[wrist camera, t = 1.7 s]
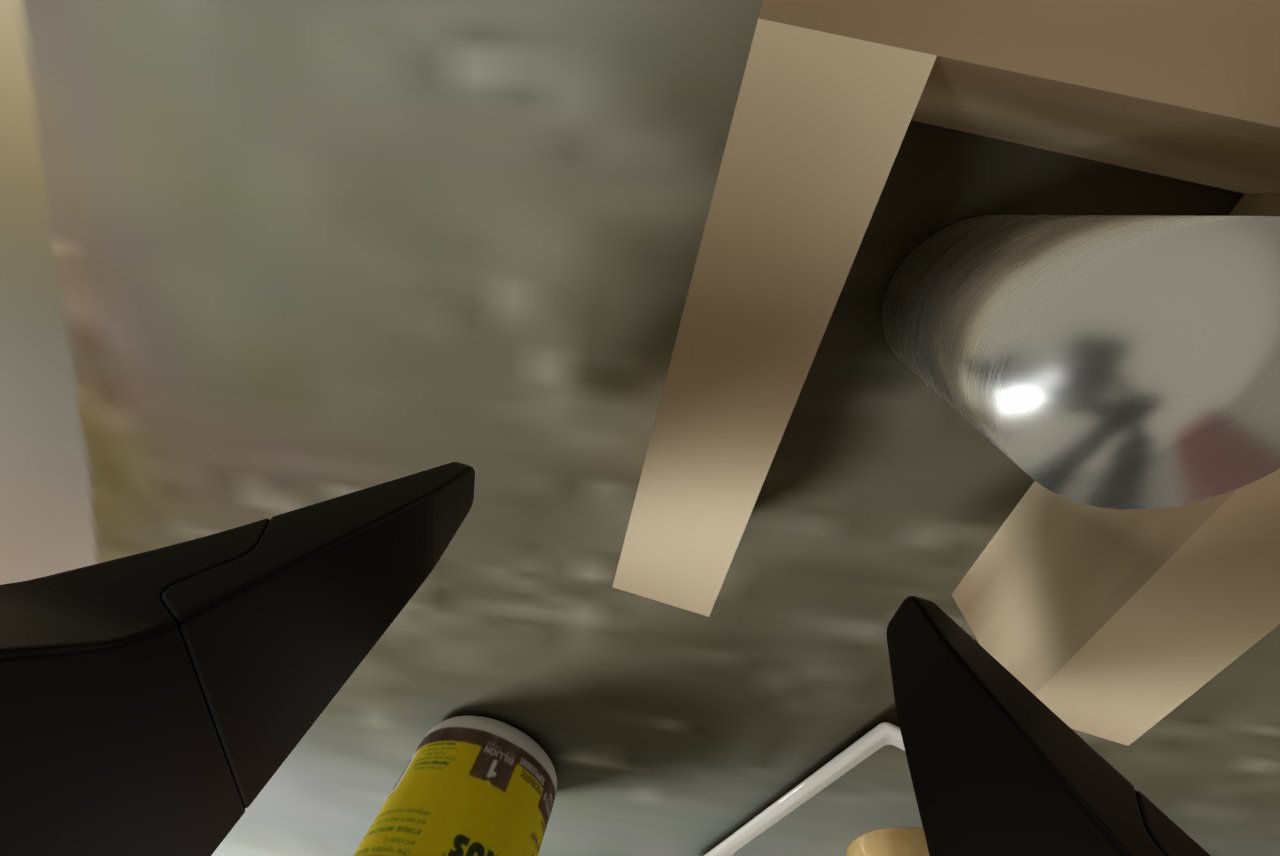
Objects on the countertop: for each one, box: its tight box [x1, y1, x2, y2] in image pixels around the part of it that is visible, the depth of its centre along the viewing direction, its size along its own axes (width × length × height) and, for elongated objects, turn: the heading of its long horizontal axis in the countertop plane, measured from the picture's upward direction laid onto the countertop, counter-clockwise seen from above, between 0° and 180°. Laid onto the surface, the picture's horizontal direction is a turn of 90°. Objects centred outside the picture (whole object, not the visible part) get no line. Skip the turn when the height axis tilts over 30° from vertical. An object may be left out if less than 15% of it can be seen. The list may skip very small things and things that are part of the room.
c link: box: [613, 0, 1280, 746], centre depth 8 cm, size 11×10×3 cm
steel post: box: [882, 215, 1280, 510], centre depth 7 cm, size 3×3×4 cm
